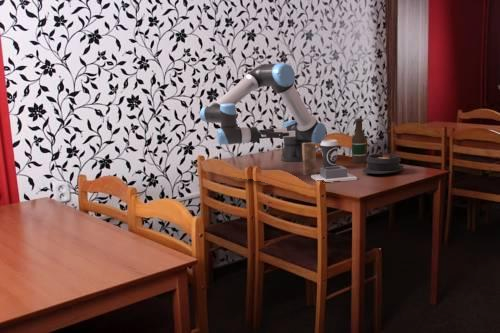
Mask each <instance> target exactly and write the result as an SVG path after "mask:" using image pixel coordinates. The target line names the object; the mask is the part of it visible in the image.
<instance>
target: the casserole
mask: <svg viewBox="0 0 500 333" xmlns="http://www.w3.org/2000/svg"><path fill="white" fill-rule="evenodd" d="M401 161H402V160H401V158H400V156H399V155H398V154H395V153H373V154H369V155H367V157H366V163H367V166H365V167H364V168H363V169H362V173H365V174H371V175H372V174H373V175H392V174H396V173H398V172H401V171H402V170H403V168H405V166H404V165H403V164H400V162H401Z"/></svg>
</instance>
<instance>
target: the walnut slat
mask: <svg viewBox="0 0 500 333" xmlns="http://www.w3.org/2000/svg"><path fill="white" fill-rule="evenodd" d="M316 145H317V144H315V143H314V142H310V143H302V156H303V161H302V175H304V176H311V175H317V155H316V152H317V150H316Z"/></svg>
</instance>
